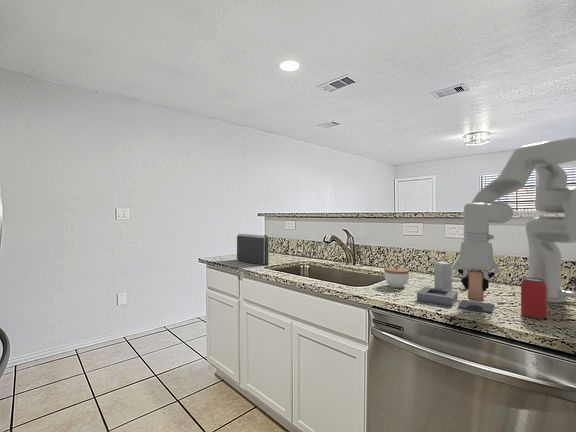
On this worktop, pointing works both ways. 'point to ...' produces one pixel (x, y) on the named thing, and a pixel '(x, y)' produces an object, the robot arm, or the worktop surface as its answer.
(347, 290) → the worktop surface
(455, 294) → the housing
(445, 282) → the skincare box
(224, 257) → the worktop surface
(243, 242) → the dark grey box
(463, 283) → the valve
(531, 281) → the beer can
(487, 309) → the mat
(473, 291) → the tan tall block
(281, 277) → the worktop surface
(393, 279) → the lidded jar
